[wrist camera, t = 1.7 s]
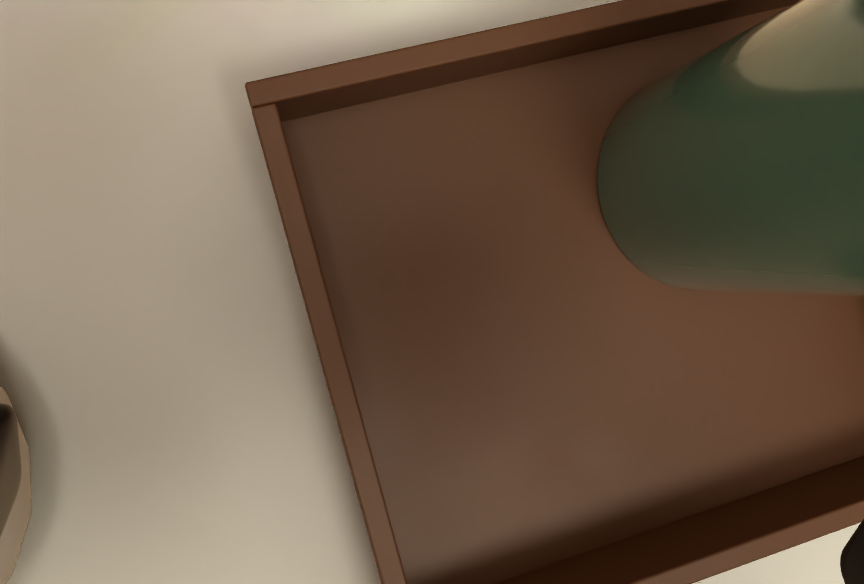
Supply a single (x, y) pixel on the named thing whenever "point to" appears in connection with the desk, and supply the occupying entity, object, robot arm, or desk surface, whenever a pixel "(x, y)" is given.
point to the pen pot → (748, 161)
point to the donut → (16, 509)
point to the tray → (547, 319)
